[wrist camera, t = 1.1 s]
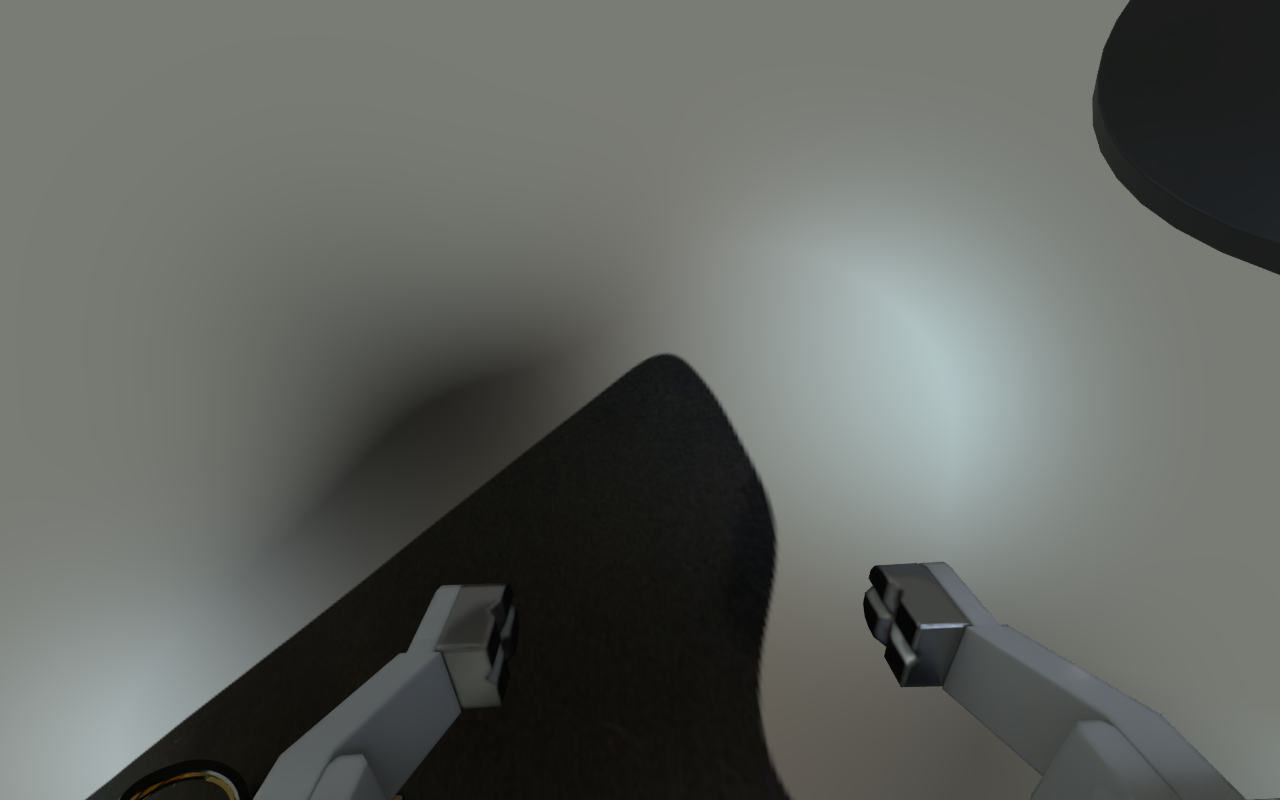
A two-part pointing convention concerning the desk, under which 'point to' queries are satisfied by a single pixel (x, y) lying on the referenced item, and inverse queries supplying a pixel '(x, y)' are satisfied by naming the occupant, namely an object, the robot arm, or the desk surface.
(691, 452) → the desk surface
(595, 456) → the desk surface
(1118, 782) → the robot arm
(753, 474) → the desk surface
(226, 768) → the ring
